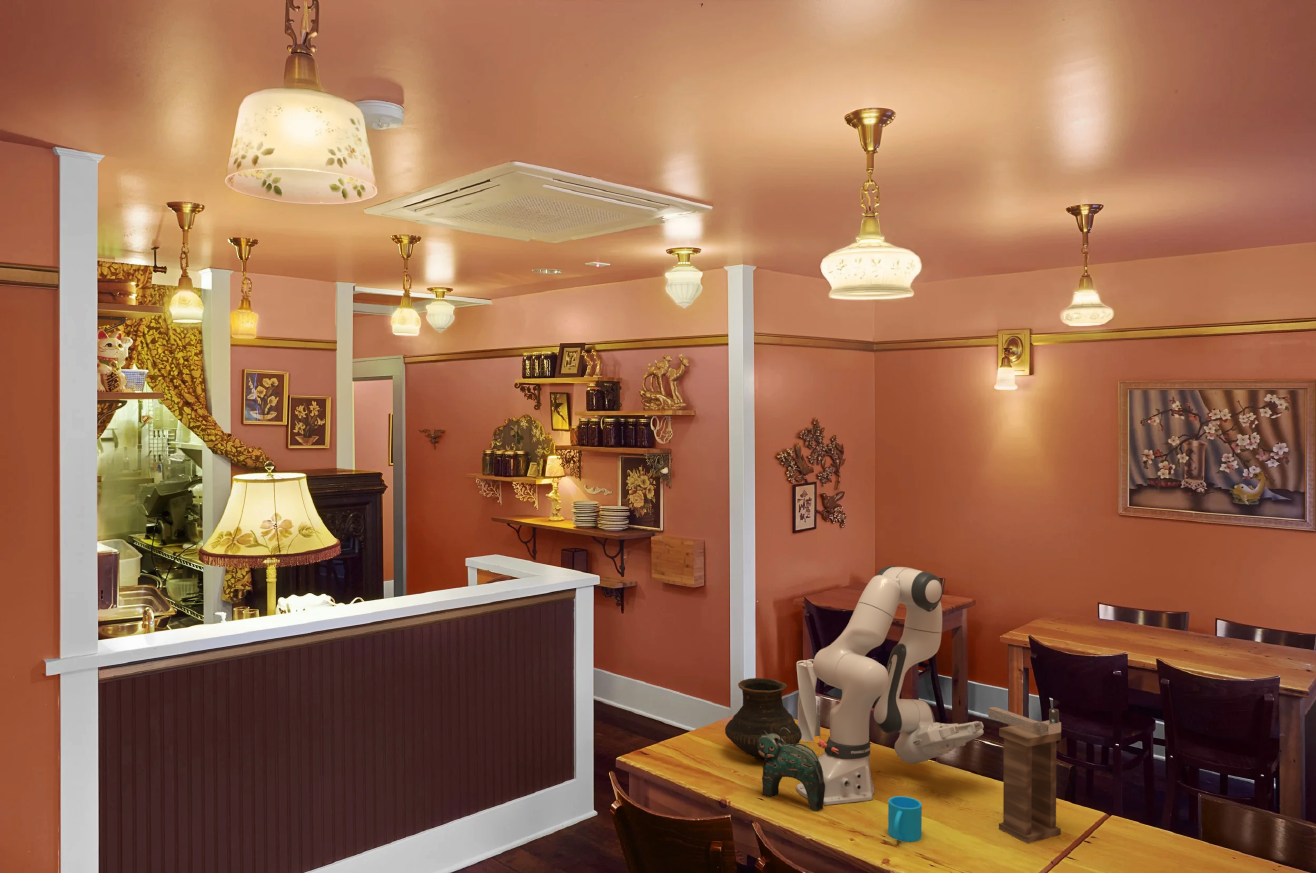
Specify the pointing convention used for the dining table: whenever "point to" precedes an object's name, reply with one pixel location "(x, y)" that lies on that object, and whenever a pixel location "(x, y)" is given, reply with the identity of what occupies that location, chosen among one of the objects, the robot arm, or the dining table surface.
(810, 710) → the skyscraper
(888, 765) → the dining table surface
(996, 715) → the crank handle
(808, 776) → the ceramic cat
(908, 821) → the mug
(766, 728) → the ceramic pot
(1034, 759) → the shelf stand
